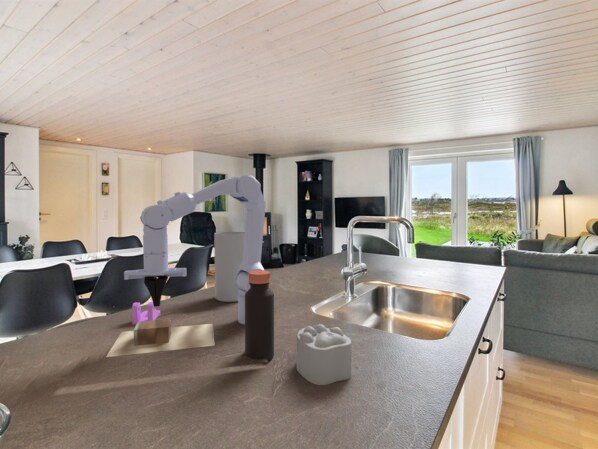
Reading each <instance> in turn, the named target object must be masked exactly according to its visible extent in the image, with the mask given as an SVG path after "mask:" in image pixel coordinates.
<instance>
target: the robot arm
mask: <svg viewBox="0 0 598 449" xmlns="http://www.w3.org/2000/svg"><path fill="white" fill-rule="evenodd" d="M261 187H262V185H261V183H260V182H259V180H258V179H256V177H254V176H253V175H252V174H243V175H240V176H232V177H230V178H226V179H221V180H217V181H215V182H214V183H211V184H209V185H208V186H206V187H204V188H201V189H199V190H197V191H195V192H194V193H191V194H190V193H189V192H185V191H182V192H180V191H177V192H175V193H173V195H174V196H171V197H169V198H167V199H164V200H162V199H160V200H157V201H156V203H157V204H154V205H148V206H146V207H145V208H143V210H142V211H141V215H140V216H139V219H140V222H141V223H142V224H143V226H142V227H143V229H142V231H143V235H142V245H143V246H142V248H143V250H142V251H143V252H142V253H143V269H133V270H125V271H124V272H123V277H124V278H123V281H126V280H127V281H128V280H133V279H134V280H135V279H144V281H143V283H144V285H145V287H146V289H147V291H148V293H149V295H150V296H151V297H150V298H151V302H153V305H154V307H155V308H156V307H160V306H161V301H162V295H163V292H164V289H165V286H166V283H167V281H168V279H169V278H170V277H171V278H172V277H173V278H174V277H183V278H185V277H187V267H169V251H168V250H169V249H168V246H169V245H168V232H167V231H168V228H167V227H168V225H169V223H170V222H175V221H176V220H178V219H181V218H183V217H185V216H187V215H190V214H192V213H194V211H195V209H196V208H197V205H200V204H202V203H204V202H208V201H210V200H211V199H214V198H217V197H218V196H221V195H224V196H228V195H229V196H230V197H231V198H233V199H235V200H237V201H239V203H240V204H242V205H243V207H244V208H246V217H245V227H244V229H245V230H244V232H245V239H244V251H243V261H242V263H241V264H240V265H239V270H238V273H237V275H236V277H235V285H236V287H237V288H238V289H239V292H238V301H237V302H238V303H237V307H238V312H237V313H238V314H237V315H238V316H237V317H238V319H237V320H238V321H237V322H238V323H239V324H241V325H245V293H246V292H247V291H248V290H249V289H250V285H249V272H251V271H265V268H264V267H263V265H262V262H261V261H262V252H263V250H262V249H263V240H264V229H265V228H264V226H265V216H266V215H265V214H266V201H265V197H264V196H263V193H262V192H263V191H262V189H261Z"/></svg>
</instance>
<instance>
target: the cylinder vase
mask: <svg viewBox="0 0 598 449" xmlns="http://www.w3.org/2000/svg"><path fill="white" fill-rule="evenodd" d="M213 239H214V298H215V300H216V301H218V302H222V303H235V302H238V292H239V289H238V288H237V287H236V285H235V277H236V275H237V273H238V270H239V265H240V264H241V263H242V261H243V251H244V239H245V231H219V232H214V238H213Z"/></svg>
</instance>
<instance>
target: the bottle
mask: <svg viewBox="0 0 598 449" xmlns="http://www.w3.org/2000/svg"><path fill="white" fill-rule="evenodd" d="M270 283H271V272H270V271H269V270H264V271H251V272H249V285H250V289H249V290H248V291H247V292H246V293H245V324H244V354H245V356H246V357H247V358H248V359H252V360H265V359H266V361H268V362H269V361H271V360H272V359H273V358H274V356H275V293H274V291H273V290H271V288H270V286H269V285H270Z"/></svg>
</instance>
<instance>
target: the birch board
mask: <svg viewBox="0 0 598 449" xmlns="http://www.w3.org/2000/svg"><path fill="white" fill-rule="evenodd" d="M215 345H216V344H215V334H214V324H213V323H206V324H205V323H204V324H196V325H194V324H193V325H184V326H183V325H182V326H181V325H180V326H171V336H170V340H169V342H168V343H158V344H148V345H138V346H134V330H128V331H126V330H125V331H121V332H120V334H119V335H118V337H117V339H115V342H114V344H113V345H112V347H111V348H110V350H109V351H108V353H107V355H106V356H105V358H113V357H121V356H130V355H139V354H140V355H141V354H150V353H157V352H158V353H159V352H166V351H167V352H169V351H178V350H188V349H196V348H204V347H205V348H206V347H214V346H215Z"/></svg>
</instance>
